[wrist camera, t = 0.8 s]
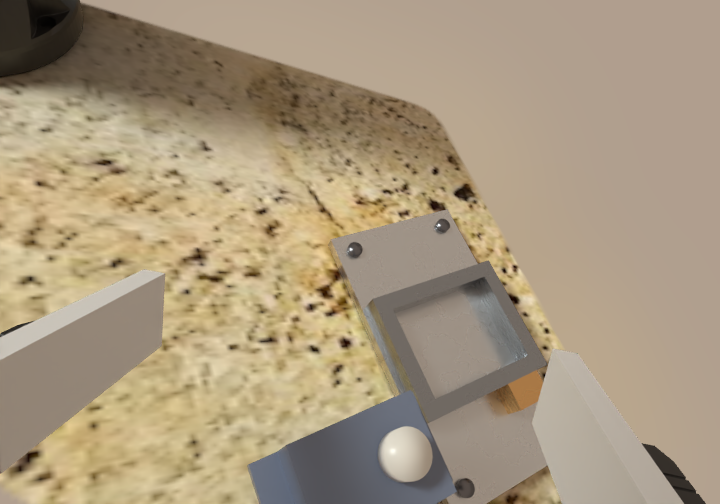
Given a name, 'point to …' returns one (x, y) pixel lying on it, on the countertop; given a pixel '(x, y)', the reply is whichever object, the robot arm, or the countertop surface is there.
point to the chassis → (450, 348)
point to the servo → (359, 462)
